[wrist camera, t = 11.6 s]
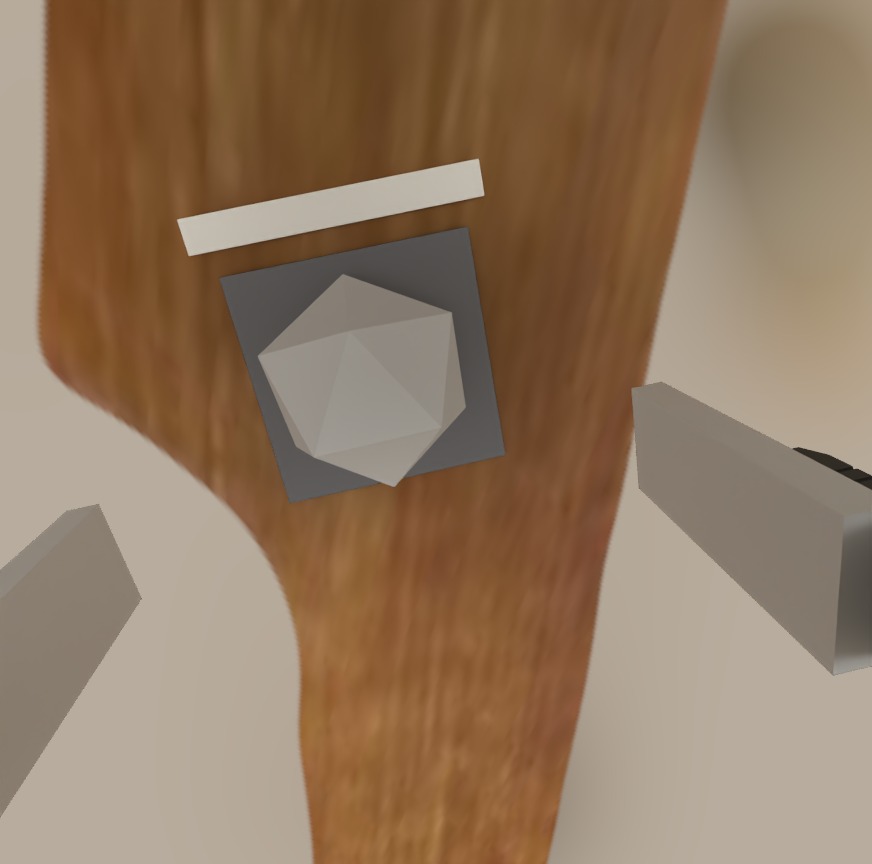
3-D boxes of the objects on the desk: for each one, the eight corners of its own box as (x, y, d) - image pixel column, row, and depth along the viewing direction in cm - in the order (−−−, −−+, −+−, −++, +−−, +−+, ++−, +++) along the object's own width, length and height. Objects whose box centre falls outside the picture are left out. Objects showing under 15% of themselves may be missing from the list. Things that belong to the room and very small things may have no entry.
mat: (476, 160, 26) (478, 158, 26) (521, 448, 31) (523, 451, 31) (180, 220, 26) (177, 219, 25) (272, 504, 31) (271, 508, 30)
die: (302, 455, 30) (415, 552, 24) (190, 348, 24) (307, 445, 18) (403, 349, 32) (533, 415, 26) (325, 224, 25) (473, 272, 19)
